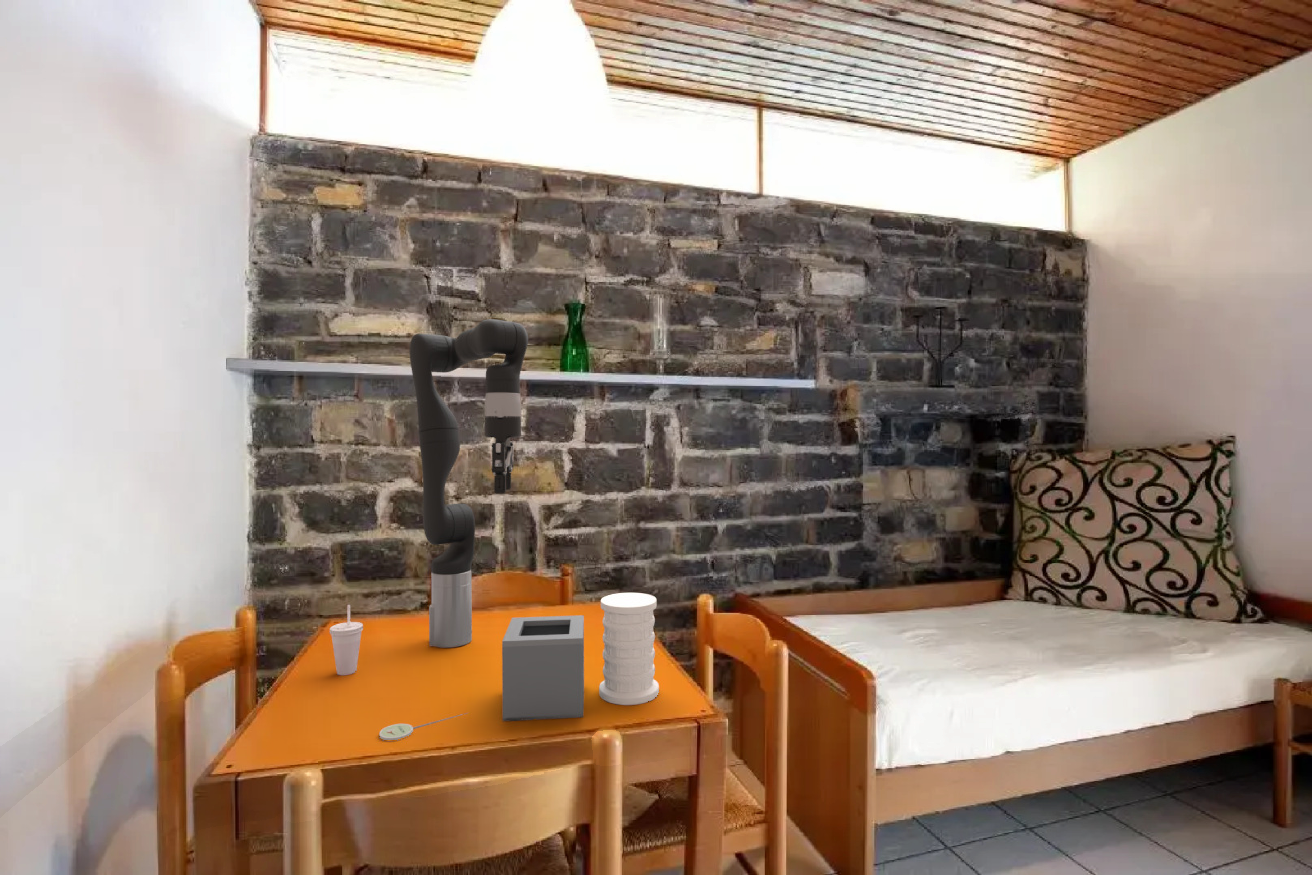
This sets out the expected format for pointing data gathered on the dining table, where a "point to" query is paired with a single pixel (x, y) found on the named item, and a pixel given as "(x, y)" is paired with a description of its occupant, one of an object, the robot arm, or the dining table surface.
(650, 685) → the decorative container
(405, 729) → the sign
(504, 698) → the box
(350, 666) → the smoothie
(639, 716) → the dining table surface
